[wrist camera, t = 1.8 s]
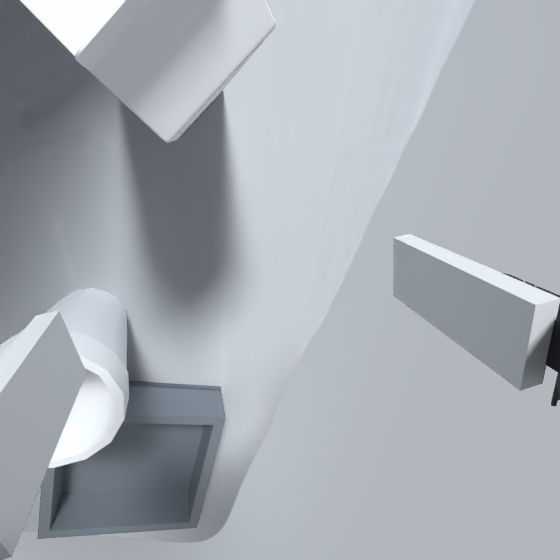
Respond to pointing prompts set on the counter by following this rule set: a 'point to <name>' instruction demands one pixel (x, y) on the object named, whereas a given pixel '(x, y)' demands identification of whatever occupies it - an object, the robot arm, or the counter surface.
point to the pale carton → (160, 50)
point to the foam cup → (93, 372)
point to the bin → (140, 467)
